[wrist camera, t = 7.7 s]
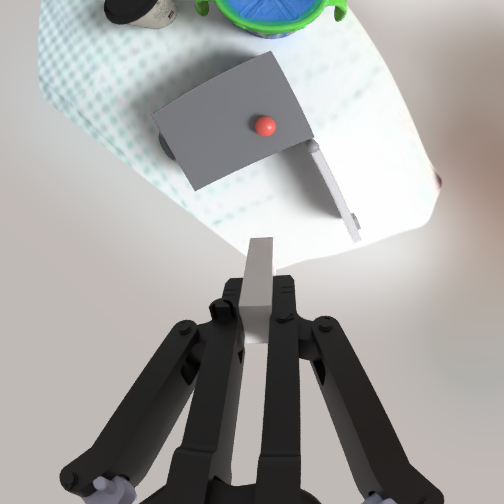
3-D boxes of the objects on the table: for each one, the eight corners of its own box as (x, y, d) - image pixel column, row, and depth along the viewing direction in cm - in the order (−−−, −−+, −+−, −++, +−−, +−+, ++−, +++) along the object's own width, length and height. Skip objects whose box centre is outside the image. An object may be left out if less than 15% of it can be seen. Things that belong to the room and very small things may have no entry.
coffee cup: (195, 15, 24) (167, -9, 15) (151, 46, 26) (112, 34, 17) (170, -14, 21) (139, -40, 12) (129, 16, 23) (89, 0, 15)
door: (343, 222, 37) (353, 243, 31) (300, 137, 31) (305, 144, 26) (354, 217, 36) (365, 237, 31) (312, 131, 31) (320, 137, 26)
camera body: (165, 116, 31) (138, 122, 25) (271, 61, 27) (270, 49, 20) (200, 179, 36) (182, 198, 29) (306, 130, 31) (315, 138, 25)
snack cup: (338, -4, 21) (359, -35, 12) (329, 62, 26) (350, 47, 18) (215, -20, 21) (195, -53, 12) (203, 45, 26) (175, 27, 17)
